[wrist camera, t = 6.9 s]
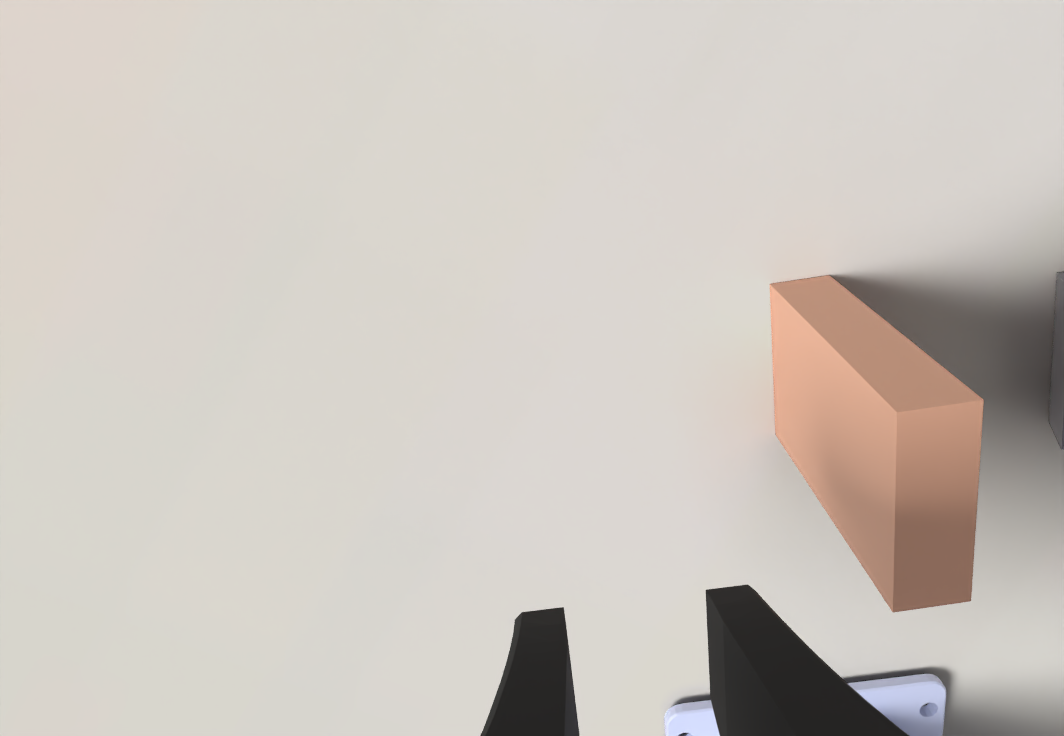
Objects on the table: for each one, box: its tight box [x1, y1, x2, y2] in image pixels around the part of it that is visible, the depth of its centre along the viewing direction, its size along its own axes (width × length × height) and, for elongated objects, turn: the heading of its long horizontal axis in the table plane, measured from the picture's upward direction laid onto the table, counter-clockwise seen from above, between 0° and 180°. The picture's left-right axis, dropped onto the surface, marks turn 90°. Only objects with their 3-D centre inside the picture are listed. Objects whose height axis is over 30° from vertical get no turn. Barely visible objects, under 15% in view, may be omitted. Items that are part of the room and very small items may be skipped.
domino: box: [770, 275, 984, 612], centre depth 18 cm, size 4×1×7 cm, turn 8°
